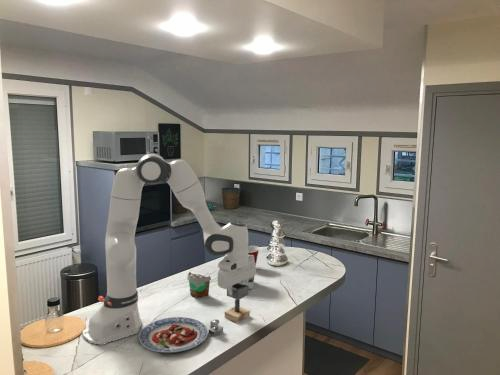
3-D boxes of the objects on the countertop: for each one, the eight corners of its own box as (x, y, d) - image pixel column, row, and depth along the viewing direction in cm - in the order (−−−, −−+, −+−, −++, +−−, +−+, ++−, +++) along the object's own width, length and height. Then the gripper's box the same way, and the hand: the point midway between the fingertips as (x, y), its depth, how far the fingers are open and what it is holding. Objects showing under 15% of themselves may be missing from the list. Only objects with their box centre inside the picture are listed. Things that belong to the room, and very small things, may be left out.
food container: (182, 295, 192) (181, 275, 191) (189, 290, 198) (189, 271, 196) (203, 300, 187) (203, 280, 185) (211, 296, 192) (211, 275, 190)
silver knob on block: (213, 337, 156) (213, 324, 155) (208, 334, 158) (208, 322, 157) (223, 332, 159) (223, 320, 159) (217, 329, 161) (217, 317, 160)
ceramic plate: (177, 315, 173) (177, 309, 172) (221, 336, 157) (221, 329, 156) (125, 340, 153) (124, 332, 153) (169, 366, 137) (169, 358, 137)
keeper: (236, 322, 167) (236, 305, 166) (224, 317, 171) (224, 300, 170) (249, 316, 173) (249, 299, 171) (237, 310, 177) (237, 294, 176)
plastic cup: (237, 266, 232) (237, 246, 230) (255, 264, 235) (255, 244, 233) (243, 273, 222) (243, 251, 220) (261, 271, 225) (262, 250, 223)
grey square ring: (238, 300, 166) (238, 290, 165) (226, 295, 170) (226, 286, 170) (248, 294, 171) (248, 285, 170) (237, 290, 175) (237, 281, 174)
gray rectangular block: (216, 329, 162) (216, 325, 162) (210, 329, 162) (210, 326, 161) (216, 324, 166) (216, 321, 166) (210, 324, 166) (210, 321, 165)
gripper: (248, 252, 178) (248, 282, 180) (214, 264, 163) (215, 297, 165) (259, 255, 174) (259, 286, 176) (226, 268, 158) (226, 301, 161)
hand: (237, 291), depth 170 cm, fingers closed on grey square ring, 6 cm apart
